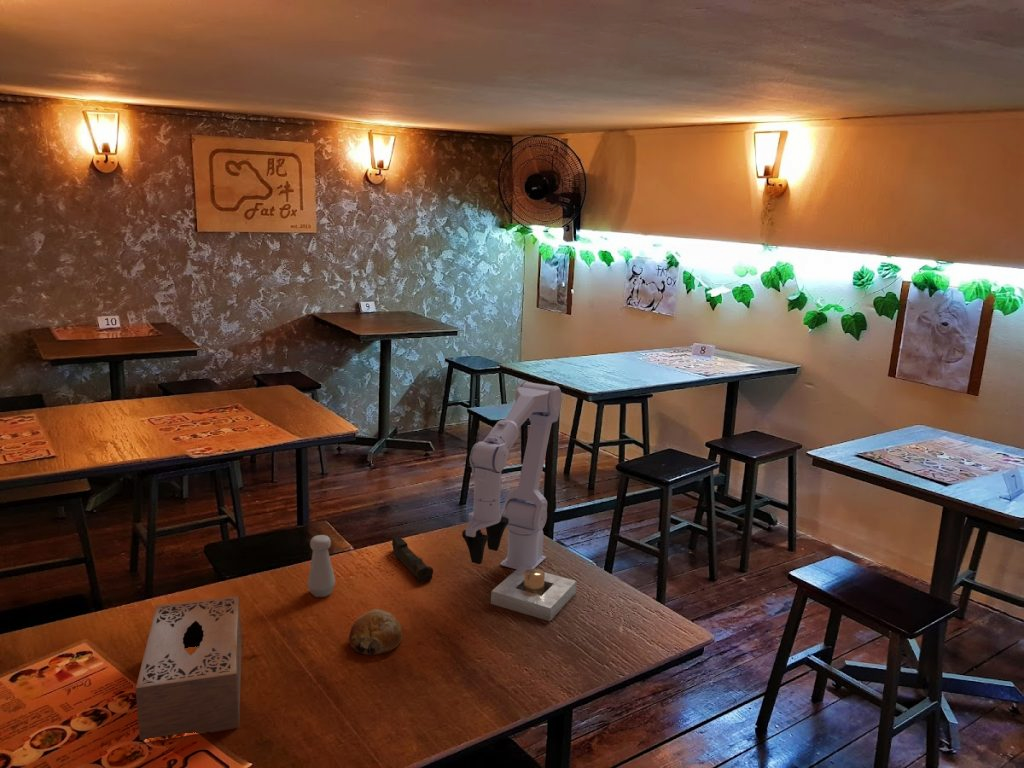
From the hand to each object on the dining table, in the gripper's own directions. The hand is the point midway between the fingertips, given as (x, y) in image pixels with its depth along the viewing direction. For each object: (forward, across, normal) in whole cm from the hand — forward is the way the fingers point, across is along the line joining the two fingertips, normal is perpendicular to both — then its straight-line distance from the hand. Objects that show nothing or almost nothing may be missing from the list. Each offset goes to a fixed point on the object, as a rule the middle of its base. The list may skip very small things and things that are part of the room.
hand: (485, 556), depth 164 cm
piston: (+10, -5, +10) cm, 15 cm away
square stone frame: (+9, -5, +10) cm, 15 cm away
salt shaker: (+10, +17, -31) cm, 37 cm away
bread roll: (+10, +27, -10) cm, 30 cm away
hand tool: (+10, -3, -22) cm, 25 cm away
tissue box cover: (+10, +54, -28) cm, 61 cm away
